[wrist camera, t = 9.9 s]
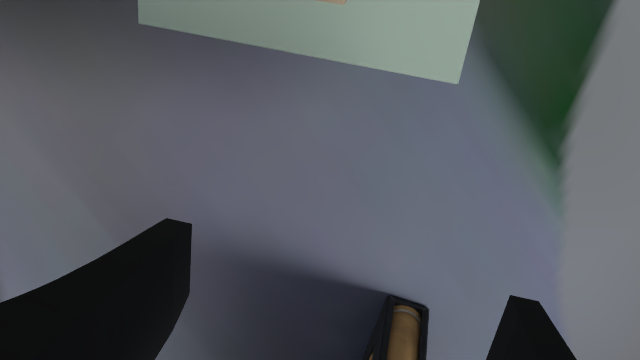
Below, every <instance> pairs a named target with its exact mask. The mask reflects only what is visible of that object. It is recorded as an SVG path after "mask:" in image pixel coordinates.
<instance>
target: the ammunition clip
mask: <svg viewBox="0 0 640 360" xmlns="http://www.w3.org/2000/svg"><path fill="white" fill-rule="evenodd" d="M428 320H429V309H428V308H426V307H423V306H420V305H416V304H413V303H410V302H407V301H404V300H401V299H398V298H395V297H392V296H389V297H387V299H386V301H385V304H384V306H383V309H382V311H381V314H380V316H379V319H378V321H377V324H376V326H375V328H374V331H373V333H372V336H371V338H370V341H369V343H368V346H367V348H366V351H365V353H364V356H363V358H362V360H426V354H427V337H428Z"/></svg>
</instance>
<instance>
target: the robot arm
mask: <svg viewBox="0 0 640 360" xmlns="http://www.w3.org/2000/svg"><path fill="white" fill-rule="evenodd" d="M191 235H192V224H190V223H186V222H181V221H177V220H172V219H168V218H166V219H164V220H163V221H161V222H159V223H157V224H156V225H154V226H152V227H150V228H149V229H147V230H146V231H144V232H142V233H141V234H139V235H137V236H136V237H134V238H132V239H131V240H129V241H127V242H125V243H124V244H122V245H120V246H118V247H117V248H115V249H113V250H112V251H110V252H108V253H106V254H105V255H103V256H101V257H99V258H98V259H96V260H94V261H92V262H90V263H88V264H86V265H84V266H82V267H80V268H78V269H76V270H74V271H72V272H70V273H68V274H66V275H65V276H63V277H61V278H59V279H56V280H54V281H52V282H50V283H48V284H46V285H43V286H41V287H39V288H37V289H34V290H32V291H29V292H27V293H24V294H22V295H19V296H17V297H15V298H12V299H9V300H7V301H4V302H1V303H0V360H155V358H156V357H157V355H158V353H159V352H160V350H161V349H162V347H163V345H164V344H165V342H166V341H167V339H168V337H169V336H170V334H171V332H172V331H173V329H174V327H175V324H176V322H177V320H178V318H179V316H180V314H181V312H182V309H183V307H184V305H185V303H186V300H187V298H188V296H189V292H190V264H191ZM486 360H577V359H576V358H575V356H574V355H573V353H572V352H571V350H570V349H569V347H568V346H567V344H566V343H565V341H564V340H563V338H562V337H561V335H560V334H559V332H558V330H557V329H556V327H555V326H554V324H553V323H552V321H551V320H550V318H549V316H548V315H547V313H546V312H545V310H544V309H543V307H542V306H541V304H540V303H539V301H534V300H530V299H525V298H521V297H516V296H512V295H510V297H509V299H508V302H507V305H506V307H505V310H504V313H503V316H502V318H501V321H500V324H499V326H498V329H497V332H496V334H495V337H494V340H493V342H492V345H491V348H490V350H489V353H488V356H487V358H486Z"/></svg>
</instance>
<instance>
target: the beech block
mask: <svg viewBox="0 0 640 360" xmlns="http://www.w3.org/2000/svg"><path fill="white" fill-rule="evenodd" d="M317 1H323V2H329V3H334V4H340V5H344V4H345V3H346V1H347V0H317Z"/></svg>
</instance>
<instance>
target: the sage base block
mask: <svg viewBox="0 0 640 360" xmlns="http://www.w3.org/2000/svg"><path fill="white" fill-rule="evenodd" d="M479 2H480V0H347V1H346V3H345V4H344V5H340V4H334V3H329V2H323V1H317V0H138V23H139V24H144V25H150V26H155V27H160V28H165V29H171V30H176V31H181V32H186V33H191V34H197V35H202V36H207V37H212V38H218V39H223V40H228V41H233V42H239V43H244V44H249V45H254V46H260V47H265V48H270V49H275V50H280V51H286V52H291V53H296V54H301V55H307V56H312V57H317V58H322V59H328V60H333V61H338V62H343V63H349V64H354V65H359V66H364V67H369V68H375V69H380V70H385V71H390V72H396V73H401V74H406V75H411V76H417V77H422V78H427V79H432V80H438V81H443V82H448V83H453V84H458V82H459V78H460V75H461V71H462V67H463V63H464V59H465V55H466V52H467V48H468V44H469V40H470V36H471V32H472V29H473V25H474V21H475V17H476V13H477V9H478V5H479Z"/></svg>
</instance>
